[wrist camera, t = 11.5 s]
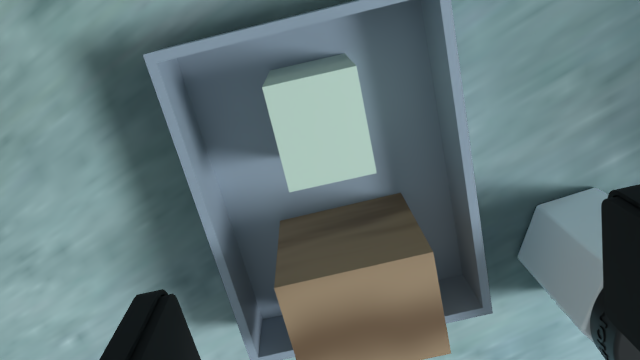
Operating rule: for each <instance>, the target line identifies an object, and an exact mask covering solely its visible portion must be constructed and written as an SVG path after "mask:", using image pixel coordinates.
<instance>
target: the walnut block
mask: <svg viewBox="0 0 640 360" xmlns="http://www.w3.org/2000/svg"><path fill="white" fill-rule="evenodd" d="M274 290H275V293H276V296H277V299H278V302H279V306H280V309H281V312H282V315H283V318H284V322H285V325H286V328H287V331H288V335H289V338H290V341H291V344H292V347H293V351H294V354H295V357H296V360H423V359H427V358H432V357H437V356H441V355H446V354H450V353H451V351H450V345H449V339H448V333H447V328H446V322H445V316H444V310H443V305H442V299H441V293H440V287H439V282H438V276H437V270H436V265H435V259H434V253H433V250H432V249H431V247H430V245H429V243H428V241H427V240H426V238H425V236H424V234H423V232H422V230H421V229H420V227H419V225H418V223H417V221H416V219H415V218H414V216H413V214H412V212H411V210H410V208H409V207H408V205H407V203H406V201H405V199H404V197H403V196H402V194H401V193H397V194H393V195H388V196H384V197H380V198H376V199H371V200H367V201H363V202H358V203H354V204H350V205H346V206H341V207H337V208H333V209H328V210H324V211H320V212H316V213H311V214H307V215H303V216H298V217H294V218H290V219H285V220H281V221H280V226H279V238H278V249H277V261H276V272H275V283H274Z"/></svg>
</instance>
